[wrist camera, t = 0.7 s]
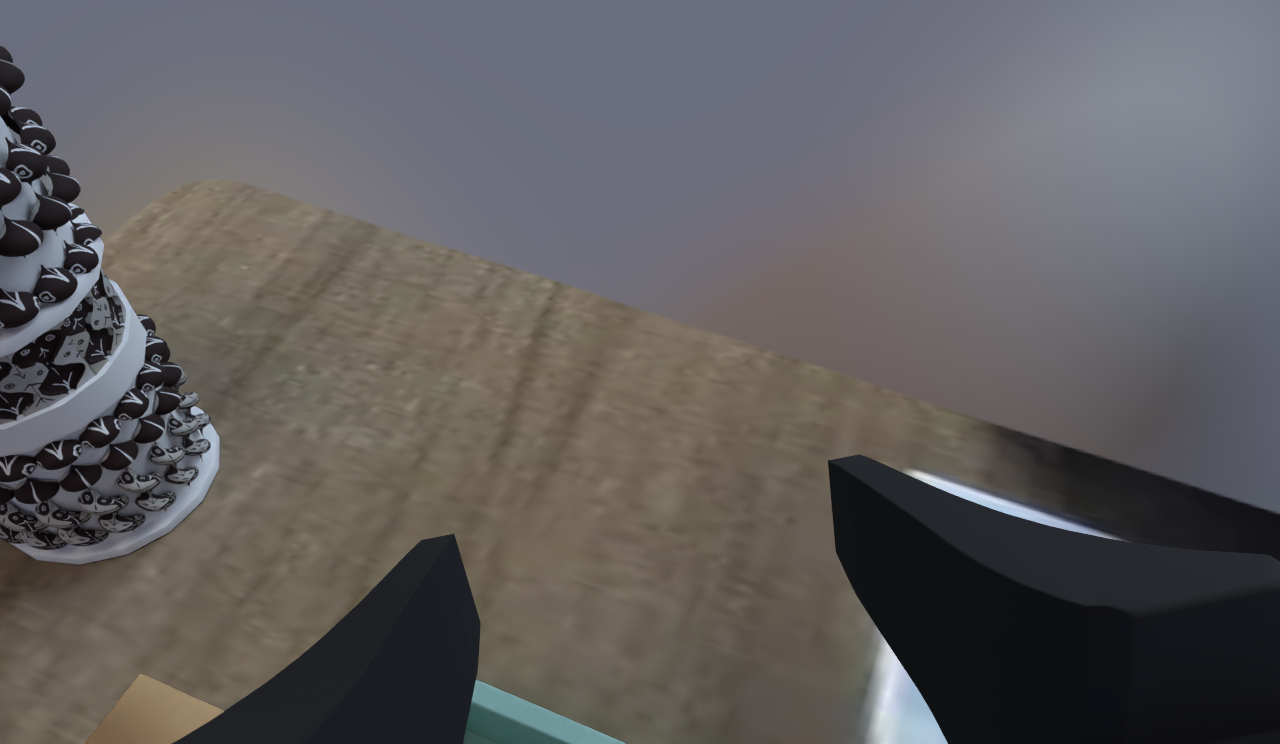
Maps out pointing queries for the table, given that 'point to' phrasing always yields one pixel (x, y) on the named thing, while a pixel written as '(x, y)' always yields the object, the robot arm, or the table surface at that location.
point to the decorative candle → (81, 376)
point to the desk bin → (522, 722)
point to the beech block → (152, 715)
